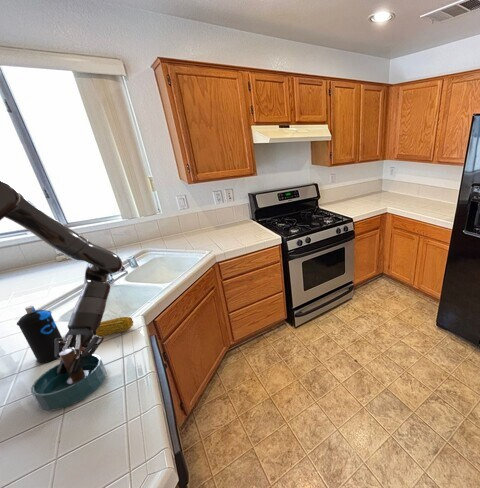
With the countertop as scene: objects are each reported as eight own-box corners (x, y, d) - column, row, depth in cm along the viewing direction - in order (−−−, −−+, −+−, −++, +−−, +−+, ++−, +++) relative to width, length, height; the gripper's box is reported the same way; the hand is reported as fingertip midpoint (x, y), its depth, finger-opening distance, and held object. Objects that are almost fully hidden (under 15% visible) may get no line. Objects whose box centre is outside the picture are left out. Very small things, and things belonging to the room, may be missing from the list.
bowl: (29, 422, 69) (19, 405, 67) (51, 381, 82) (44, 366, 80) (101, 395, 76) (94, 379, 74) (111, 362, 89) (105, 347, 87)
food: (136, 324, 109) (131, 312, 107) (131, 332, 104) (126, 320, 102) (74, 337, 102) (68, 325, 100) (66, 347, 97) (59, 334, 95)
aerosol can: (31, 367, 89) (4, 317, 82) (44, 351, 96) (20, 304, 89) (62, 358, 92) (38, 309, 85) (72, 344, 99) (51, 298, 92)
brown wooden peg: (65, 389, 76) (50, 361, 73) (71, 377, 80) (57, 349, 77) (88, 382, 78) (74, 353, 75) (92, 370, 83) (80, 343, 79)
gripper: (55, 312, 80) (30, 375, 73) (100, 309, 80) (79, 372, 72) (77, 316, 87) (56, 374, 79) (118, 314, 87) (101, 372, 79)
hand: (67, 373), depth 76 cm, fingers closed on brown wooden peg, 3 cm apart
